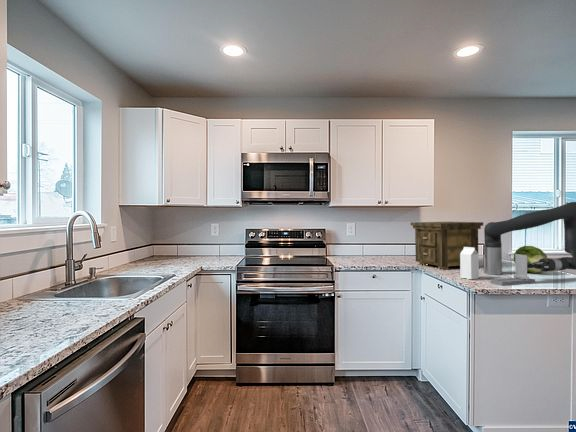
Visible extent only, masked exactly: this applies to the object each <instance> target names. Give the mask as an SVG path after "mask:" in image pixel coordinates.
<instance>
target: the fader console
mask: <svg viewBox="0 0 576 432" xmlns="http://www.w3.org/2000/svg"><path fill="white" fill-rule="evenodd" d="M489 281H490V282H489V283H490V284H494V285H497V286H498V285H499V286H503V287H504V286H516V285H517V286H518V285H527V284H528V285H529V284H536V279H535V278H530V277H529V279H519V278H514V277H502V278H491V279H490V280H489Z"/></svg>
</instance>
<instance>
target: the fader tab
mask: <svg viewBox="0 0 576 432" xmlns="http://www.w3.org/2000/svg"><path fill="white" fill-rule="evenodd" d="M514 265H515V267H514V268H515V274H514V275H513V278H519V279H529V278H530V276H528V272H527V255H521V254H515V262H514Z"/></svg>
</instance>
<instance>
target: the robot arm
mask: <svg viewBox="0 0 576 432" xmlns="http://www.w3.org/2000/svg"><path fill="white" fill-rule="evenodd" d="M558 220H563V228H564V252H565V253H568V254H571V256H562V257H547V258H543V259H540V260H539V261H536V262H532V263H531V262H527V268H535V269H540V270H541V271H542V272H545V273H546V272H556V271H565V270H576V201H570V202H567V203H565V204H562V205H560V206H559V205H558V206H555V207H553V208H548V209H541V210H536V211H532V212H531V211H530V212H527V213H524V214H520V215H518V216H515V217H513V218H510V219H507V220H502V221H495V222H493V221H491V222H488V223H486V224H485V226H484V230H483V232H484V258H483V274H486V275H487V274H488V275H493V276H495V275H503V265H502V264H503V263H502V262H503V259H502V258H503V257H502V254H503V253H502V252H503V251H502V250H503V249H502V235H504V234H508V233H510V232H514V231H522V230H526V229H532V228H536V227H540V226H543V225H546V224H549V223H552V222H555V221H558Z"/></svg>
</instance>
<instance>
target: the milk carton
mask: <svg viewBox="0 0 576 432" xmlns="http://www.w3.org/2000/svg"><path fill="white" fill-rule="evenodd" d="M479 259H480V258H479V252H478V253H477V251H476V250H475V248H473V247H464V249H463V250H462V252H461V253H460V266H459V268H460V269H459V270H460V271H459V273H460V274H459V275H460V278H461V277H462V278H461V279H463V278H467V279H466V280H469V279H474V280H479V279H480V273H479V272H480V271H479V270H480V268H479V266H480V265H479V263H480V262H479V261H480V260H479ZM478 278H479V279H478Z"/></svg>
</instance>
